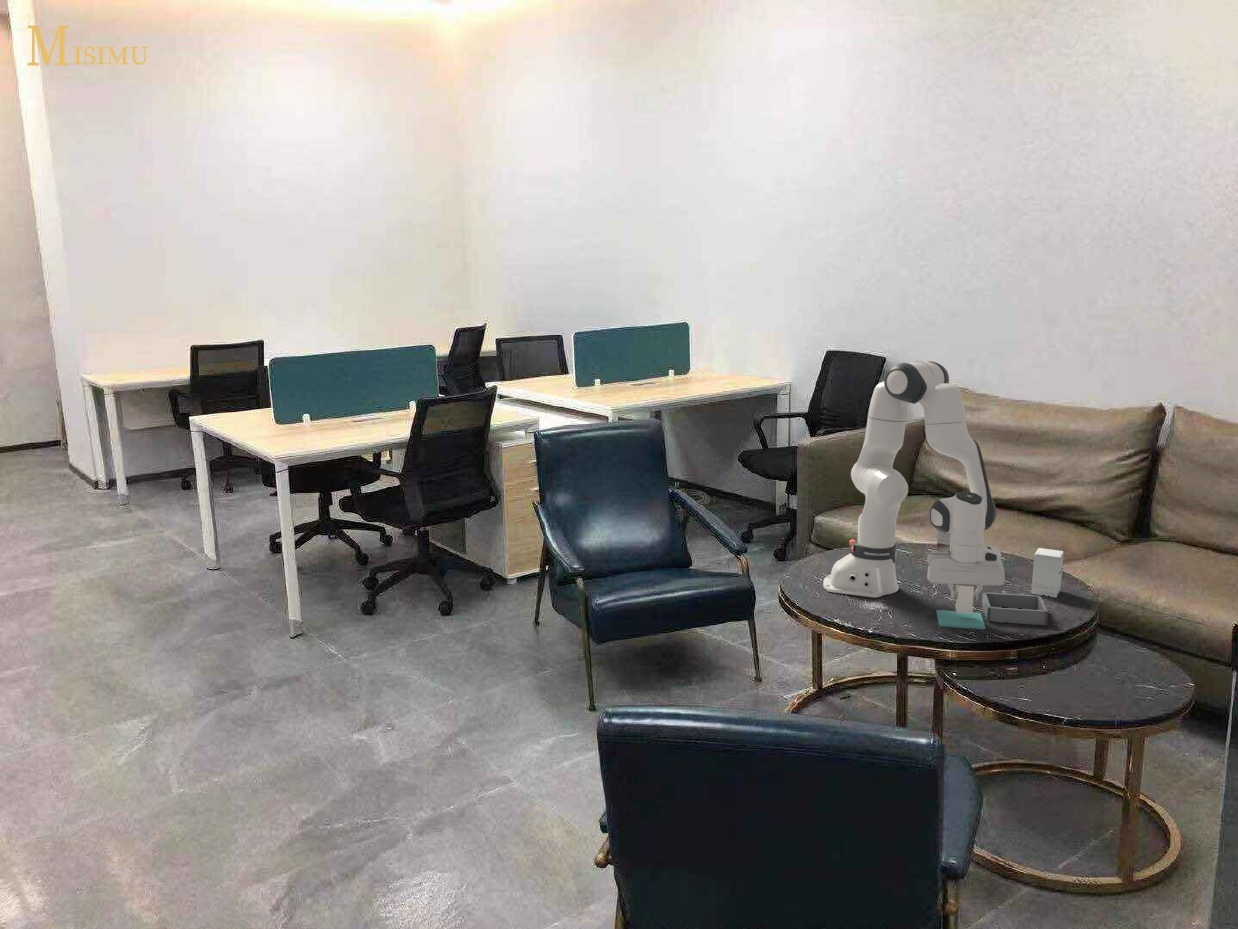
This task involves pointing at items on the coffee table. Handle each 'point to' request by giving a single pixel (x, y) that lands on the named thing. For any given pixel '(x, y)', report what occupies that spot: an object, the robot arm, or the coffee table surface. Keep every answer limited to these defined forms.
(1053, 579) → the supplement box
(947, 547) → the coffee box
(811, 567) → the coffee table surface
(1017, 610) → the crate
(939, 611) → the mat
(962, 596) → the block
